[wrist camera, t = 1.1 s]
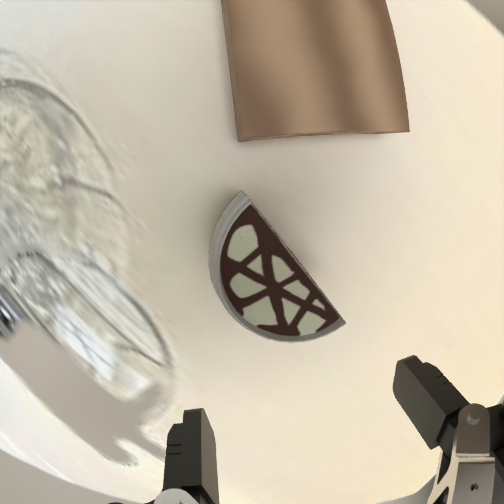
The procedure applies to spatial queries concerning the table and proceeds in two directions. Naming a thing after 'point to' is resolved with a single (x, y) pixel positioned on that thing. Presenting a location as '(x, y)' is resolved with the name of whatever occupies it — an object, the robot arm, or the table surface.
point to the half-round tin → (265, 279)
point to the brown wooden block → (313, 68)
